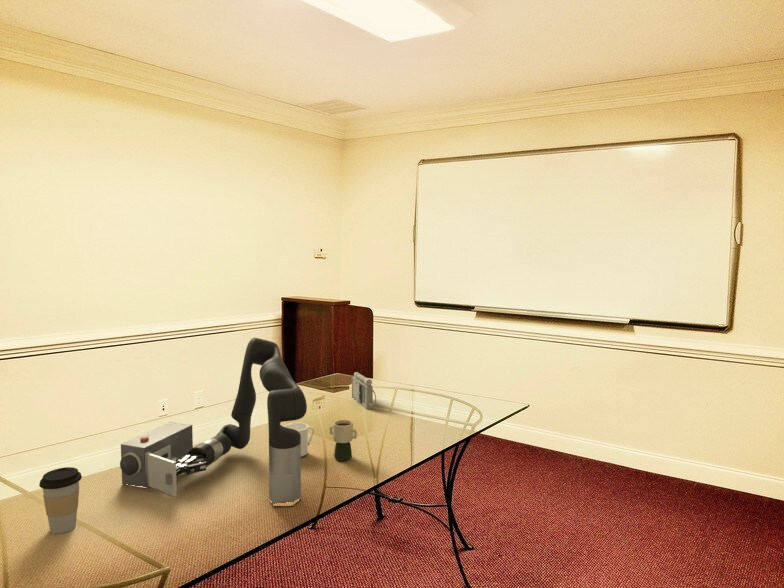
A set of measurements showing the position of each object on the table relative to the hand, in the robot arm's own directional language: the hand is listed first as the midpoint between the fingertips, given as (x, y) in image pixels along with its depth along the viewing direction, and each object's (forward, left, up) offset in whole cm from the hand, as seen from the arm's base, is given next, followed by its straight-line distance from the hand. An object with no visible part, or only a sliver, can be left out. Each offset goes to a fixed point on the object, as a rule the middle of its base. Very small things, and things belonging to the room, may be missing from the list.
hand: (169, 475), depth 155 cm
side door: (+1, +3, -5) cm, 6 cm away
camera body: (+16, +10, -7) cm, 20 cm away
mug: (+31, -34, -7) cm, 47 cm away
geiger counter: (+90, -58, -7) cm, 108 cm away
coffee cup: (-17, +22, -7) cm, 28 cm away
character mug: (+27, -50, -7) cm, 58 cm away
